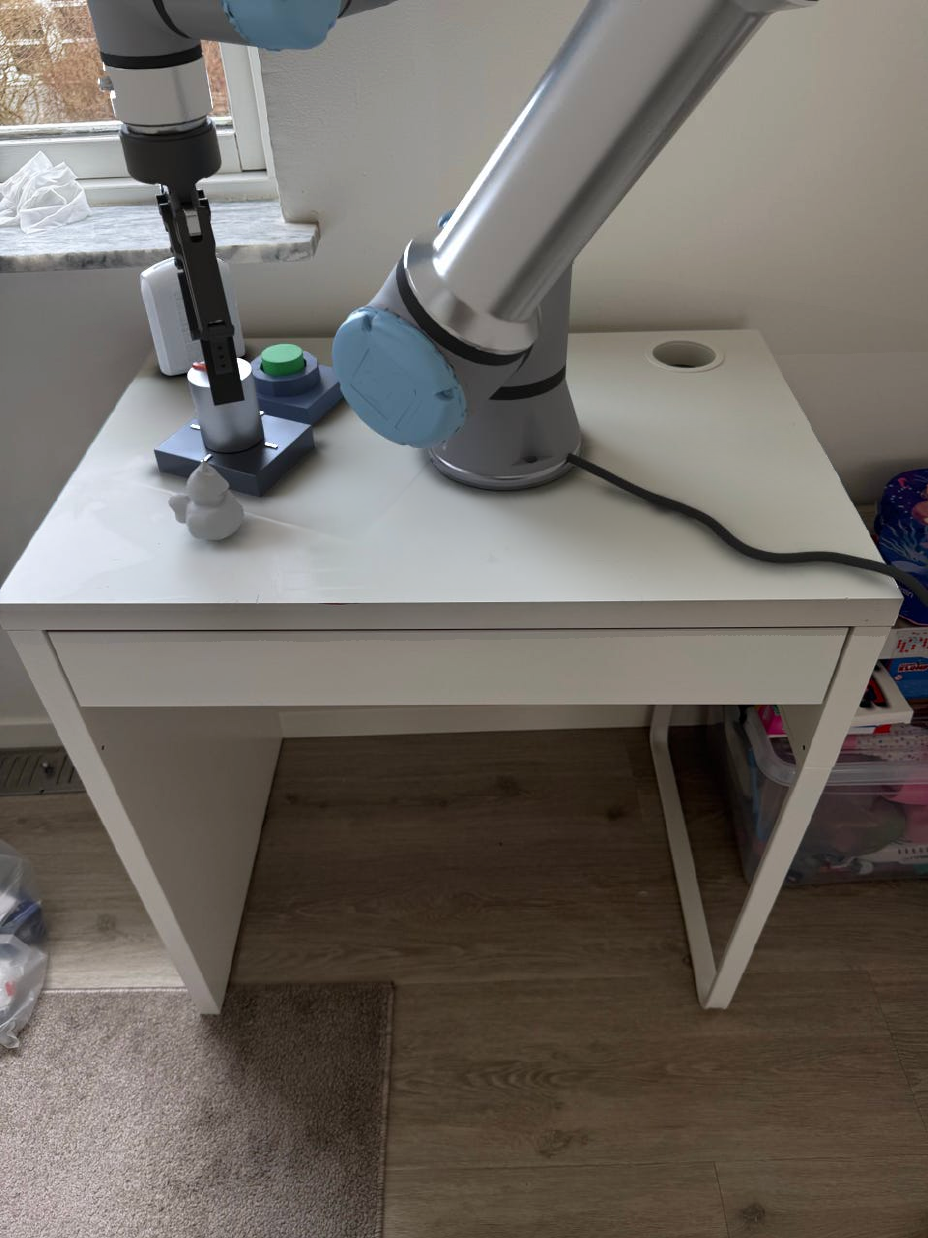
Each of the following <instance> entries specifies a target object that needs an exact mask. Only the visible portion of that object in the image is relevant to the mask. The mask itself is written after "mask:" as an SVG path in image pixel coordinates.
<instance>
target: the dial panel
mask: <svg viewBox="0 0 928 1238" xmlns="http://www.w3.org/2000/svg"><path fill="white" fill-rule="evenodd" d="M260 414H261V419H262V424H263V429H264V436H263V438H262V440H261V441H260V442H259V443H258V444H256V445H255V446H253V447H251V448H249V449H246V450H243V451H239V452H231V453H223V452H216V451H213V450H210V449H209V448H207V447H206V446H205V445H204V443H203V440H202V436H201V432H200V428H199V423H198V419H197V415H196V416H194V418H192V419H191V420H190V421H188V422H187V423H186V424H184V425H183V426H182V427H181V428H179V429H178V430H176V431H175V432H174V433H173V434H172V435H170V436H169V437H168V438H166V440H164V441H163V442H161V443H160V444H159V445H157V446H156V447H155V448H154V449H153V453H154V457H155V460H156V464H157V467H158V470H159V472H163V473H166V474H170V475H175V476H178V477H180V478H185V479H187V480H188V479H189V477H190V475H191V474H192V473H193V472H194V471H195V470H196V469H197V468H198V467H199V466H200V465H201V463H202V460H203V458H204V459H205V462H206V463H207V464H209V465H210V466H211V467H213V468H214V469H215V470H216V471H217V472H218V473H219V474H220V475H221V476H222V477H223V478H224V479H225V480H226V481H227V482H228V484H229V488H228V490H229V491H234V492H238V493H242V494H245V495H248V496H253V497H257V498H261V497H262V496H264V494H266V493H267V492H268V491H269V490H270V489H271V488H272V487H273V486H274V485H275V484H276V483H277V482H278V481H280V480H281V479H282V478H283V477H284V476H285V475H286V474H287V473H288V472H289V471H290V470H291V469H292V468H293V467H294V466H296V465H297V464H298V463H299V462H300V461H301V460H302V459H303V458H304V457H305V456H306V455H308V453H309V452H311V450H313V449H314V448H315V438H314V431H313V425H308V424H304V423H299V422H295V421H291V420H286V419H282V418H278V417H274V416H269V415H265V414H264V412H262V411H261V412H260Z"/></svg>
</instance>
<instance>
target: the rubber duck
mask: <svg viewBox="0 0 928 1238" xmlns="http://www.w3.org/2000/svg"><path fill="white" fill-rule="evenodd" d="M228 488H229V484H228V482H227V481H226V480H225V479H224V478H223V477H222V476H221V475H220V474H219V473H218V472H217V471H216V470H215V469H214V468H213V467H211V466H210V465H209V464H207V463H206V462H205V459H204V458H203V460H202V463H201V465H200V466H199V467H198V468H197V469H196V470H195V471H194V472H193V473H192V474H191V475H190V477H189V479H188V478H187V481H186V491H187V494H186V493H184V492H183V493H182V492H178V493H174V494H172V495H171V496H170V497H169V498H168V502H167V503H168V505H169V507H170V508H171V510H172V511H173V512H174V518H175V520H176V522H177V523H180V524H184V525H186V527H187V528H188V529H187V530H188V531H189V533H190V535H191V536H192V537H193V538H195V539H199V540H200V539H201V540H213V541H219V540H224V539H227V538H228V537H230V536H231V535H233V534H234V533H235V532H236V531H237V530H238V529H239V528H240V526H241V524H242V523H243V521H244V519H245V518H244V517H245V510H244V508H243V505H242V504H241V502H240V501H239V500H238V499H237V498H236V496H235V495H234V494H233V493H232V492H231V490H229V489H228Z"/></svg>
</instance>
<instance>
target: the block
mask: <svg viewBox="0 0 928 1238" xmlns="http://www.w3.org/2000/svg"><path fill="white" fill-rule="evenodd" d="M302 352H303V359H304V369H302V370H301V371H300V372H297V373H294V374H291V375H287V376H273V375H268V374H265V372H264V370H263V365H262V359H261V354H260V355H259V356H257V357H256V358H255V359H253V360H252V361H251V362H249V364H250V365H251V367H252V371H253V376H254V382H255V387H256V392H257V398H258V403H259V408H260V412H261V411H262V412H264V414H265V415H269V416H274V417H278V418H282V419H286V420H291V421H295V422H299V423H304V424H308V425H312V426H313V425H314V424H315V423H317V422H318V421H319V420H320V419H321V418H322V417H323V416H324V415H325V414H326V413H327V412H329V410H331V409H332V408H333V407H334V406H335V405H336V404H337V403H338V402H339V401H341V399H343V398H345V397H344V395H343V393H342V391H341V389H340V386H341V384H340V382H339V381H338V379H337V377H336V376H335V373H334V368H333V366H328V365H323V364H319V358H317V357H316V356H315V355H313V354H312V353H311V352H310V351H306V350H302Z"/></svg>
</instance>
